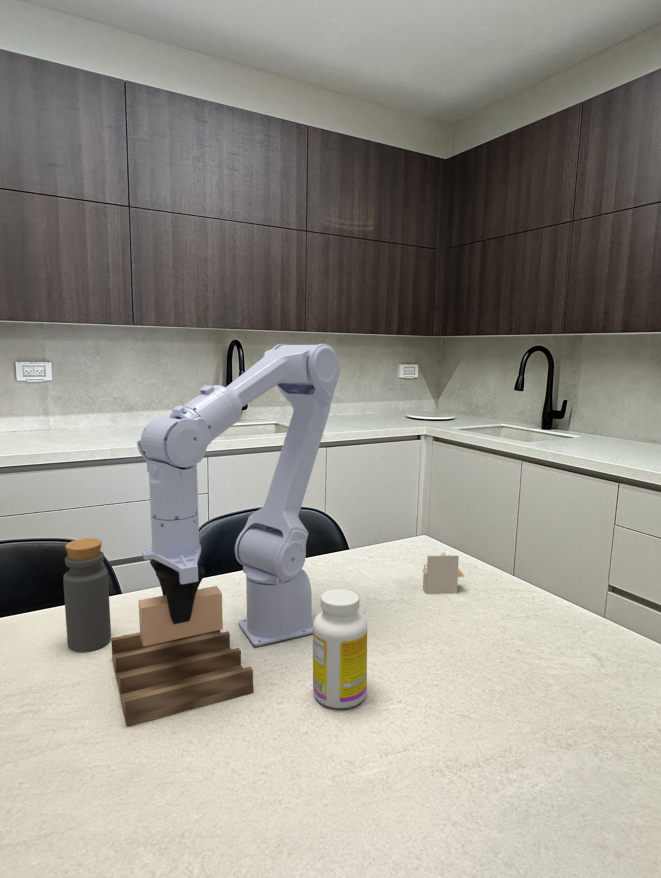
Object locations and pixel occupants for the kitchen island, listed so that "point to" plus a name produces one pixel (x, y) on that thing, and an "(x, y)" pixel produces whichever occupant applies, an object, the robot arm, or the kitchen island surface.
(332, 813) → the kitchen island surface
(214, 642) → the rack
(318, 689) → the supplement bottle
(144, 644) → the peach rectangular block
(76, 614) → the bottle
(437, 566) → the architectural model
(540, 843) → the kitchen island surface
